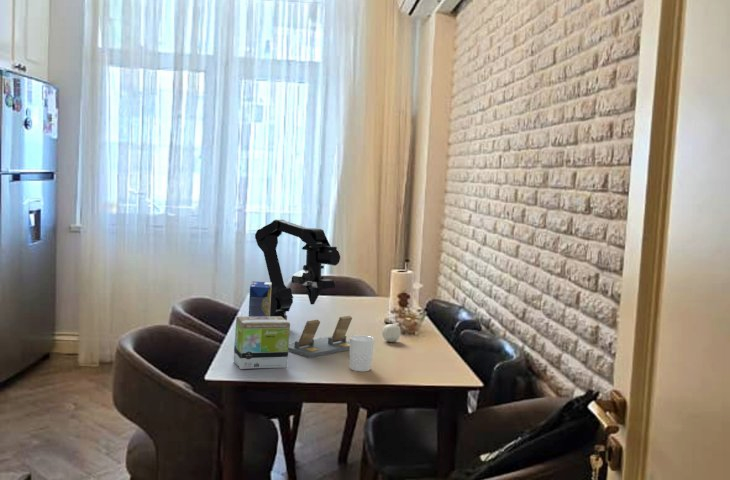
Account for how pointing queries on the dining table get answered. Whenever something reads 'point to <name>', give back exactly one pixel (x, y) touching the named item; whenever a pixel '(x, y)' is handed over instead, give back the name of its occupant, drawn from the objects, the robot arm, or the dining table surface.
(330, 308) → the dining table surface
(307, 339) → the lever
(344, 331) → the lever
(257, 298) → the beverage box
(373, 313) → the dining table surface
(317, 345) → the twin lever plate
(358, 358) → the white cup
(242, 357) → the tea box
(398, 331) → the baseball
